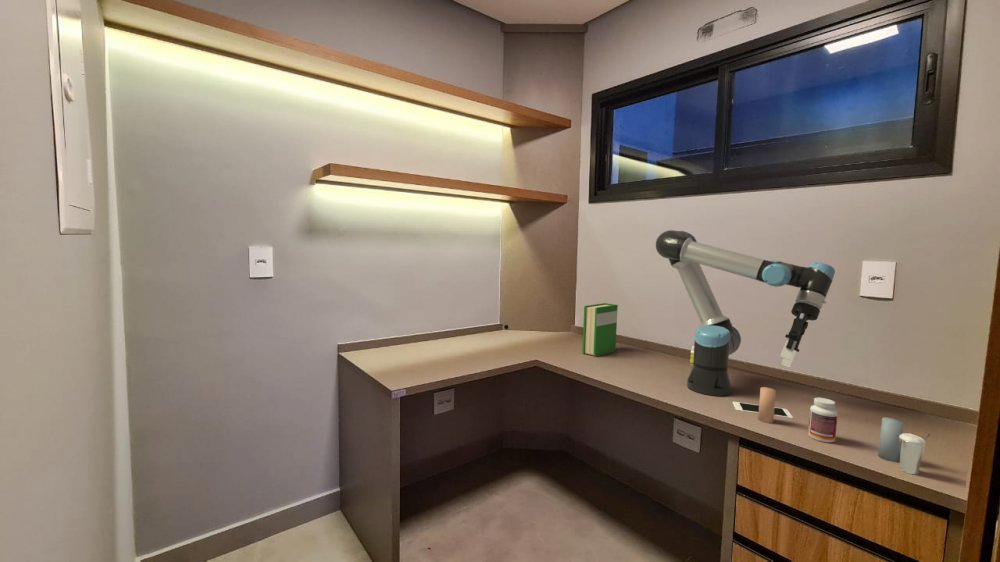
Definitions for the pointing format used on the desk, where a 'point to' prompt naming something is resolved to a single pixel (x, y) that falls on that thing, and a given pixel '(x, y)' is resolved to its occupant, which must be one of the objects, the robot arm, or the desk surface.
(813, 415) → the pill bottle
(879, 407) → the desk surface
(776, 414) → the cell phone
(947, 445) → the desk surface
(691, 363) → the supplement bottle
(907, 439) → the milkshake
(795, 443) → the desk surface
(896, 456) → the slate post
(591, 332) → the hardback book
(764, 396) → the terracotta post
